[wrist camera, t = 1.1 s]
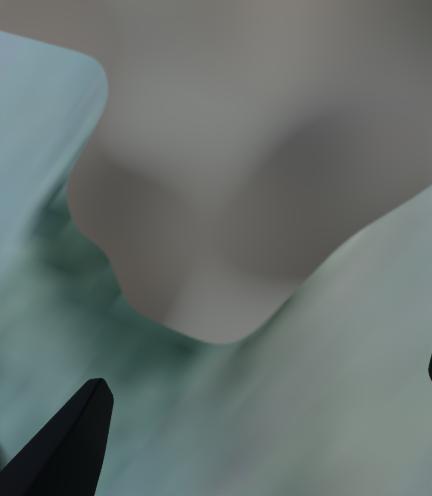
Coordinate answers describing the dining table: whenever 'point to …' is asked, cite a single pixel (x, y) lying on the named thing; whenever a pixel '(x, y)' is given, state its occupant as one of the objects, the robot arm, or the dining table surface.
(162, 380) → the dining table surface
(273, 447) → the dining table surface
